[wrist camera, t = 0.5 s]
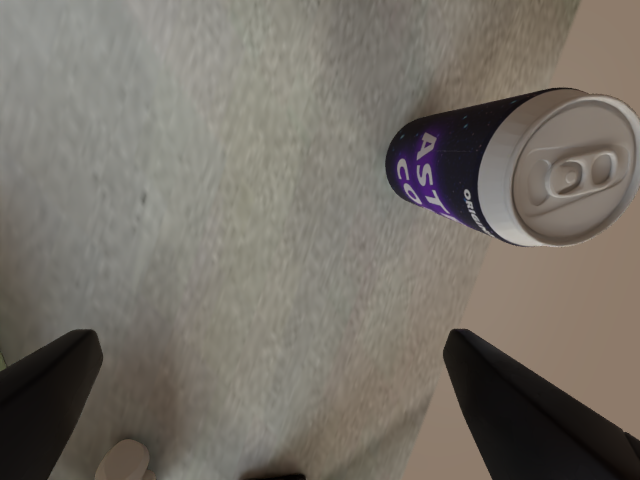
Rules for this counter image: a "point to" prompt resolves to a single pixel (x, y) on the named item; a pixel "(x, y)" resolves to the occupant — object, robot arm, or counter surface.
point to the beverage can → (523, 165)
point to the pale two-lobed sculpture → (125, 462)
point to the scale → (2, 362)
